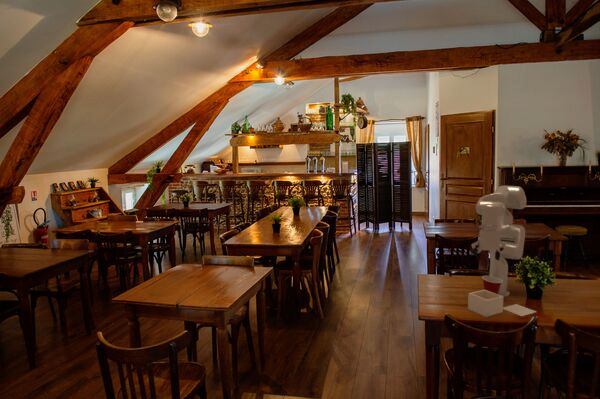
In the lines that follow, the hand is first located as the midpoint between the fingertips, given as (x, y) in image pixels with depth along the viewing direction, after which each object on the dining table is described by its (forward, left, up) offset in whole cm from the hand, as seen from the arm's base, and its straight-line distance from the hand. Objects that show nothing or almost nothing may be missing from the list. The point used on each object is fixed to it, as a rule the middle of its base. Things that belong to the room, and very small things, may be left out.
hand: (487, 259), depth 223 cm
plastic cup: (-11, +18, -28) cm, 35 cm away
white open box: (0, 0, -28) cm, 28 cm away
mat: (+8, +16, -28) cm, 33 cm away
